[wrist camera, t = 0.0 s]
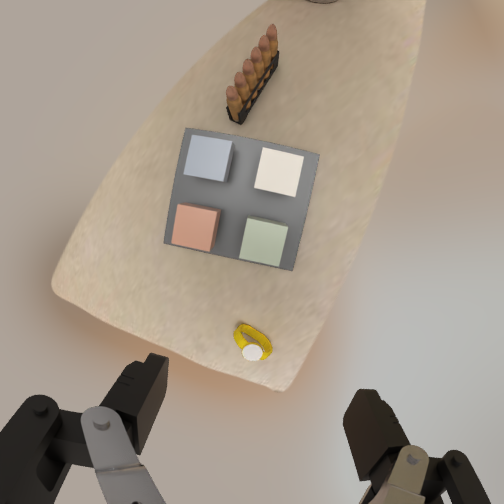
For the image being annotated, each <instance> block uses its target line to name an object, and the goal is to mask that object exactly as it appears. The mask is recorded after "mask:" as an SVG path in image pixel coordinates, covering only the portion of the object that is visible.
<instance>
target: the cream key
mask: <svg viewBox="0 0 504 504" xmlns="http://www.w3.org/2000/svg"><path fill="white" fill-rule="evenodd" d="M303 160H304V157H303V156H299V155H295V154H291V153H287V152H282V151H278V150H273V149H269V148H264V147H263V149H262V153H261V158H260V162H259V167H258V171H257V176H256V181H255V185H254V188H257V189H262V190H266V191H271V192H275V193H280V194H284V195H288V196H293V197H295V196H296V192H297V187H298V183H299V178H300V173H301V169H302V164H303Z"/></svg>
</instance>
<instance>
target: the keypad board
mask: <svg viewBox="0 0 504 504" xmlns="http://www.w3.org/2000/svg"><path fill="white" fill-rule="evenodd" d="M192 135H197V136H204V137H210V138H217V139H223V140H228V141H232V142H233V143H234V145H235V148H234V152H233V157H232V161H231V166H230V170H229V175H228V180H227V182H223V181H218V180H212V179H207V178H201V177H196V176H190V175H185V174H184V169H185V164H186V159H187V155H188V150H189V146H190V141H191V137H192ZM263 147H264V148H269V149H273V150H278V151H282V152H287V153H291V154H295V155H299V156H303V157H304V160H303V164H302V169H301V173H300V178H299V183H298V187H297V192H296V196H295V197H293V196H288V195H284V194H280V193H275V192H271V191H266V190H262V189H257V188H254V185H255V181H256V176H257V171H258V167H259V162H260V158H261V153H262V149H263ZM319 156H320V154H316V153H312V152H308V151H304V150H300V149H296V148H292V147H288V146H284V145H280V144H275V143H271V142H266V141H261V140H256V139H251V138H246V137H241V136H235V135H230V134H224V133H218V132H212V131H205V130H198V129H191V128H185V132H184V137H183V141H182V145H181V150H180V154H179V159H178V164H177V169H176V173H175V178H174V184H173V189H172V194H171V200H170V205H169V211H168V217H167V223H166V230H165V237H164V244H169V245H173V246H178V247H182V248H187V249H191V250H196V251H201V252H205V253H210V254H214V255H219V256H224V257H228V258H233V259H237V260H242V261H247V262H251V263H256V264H261V265H266V266H270V267H275V268H280V269H285V270H289V271H293V267H294V263H295V259H296V255H297V251H298V247H299V243H300V239H301V235H302V231H303V227H304V223H305V219H306V214H307V210H308V206H309V201H310V197H311V193H312V188H313V184H314V179H315V175H316V170H317V165H318V160H319ZM185 202H186V203H191V204H196V205H201V206H206V207H211V208H216V209H221V213H220V218H219V223H218V229H217V234H216V239H215V244H214V247H213V248H212V249H211V251H210V252H208V251H204V250H199V249H194V248H190V247H185V246H181V245H176V244H172V243H171V241H172V235H173V229H174V223H175V217H176V211H177V205H178V204H180V203H185ZM248 215H250V216H254V217H259V218H264V219H268V220H273V221H277V222H282V223H286V225H287V226H288V231H287V235H286V239H285V243H284V247H283V252H282V256H281V260H280V264H279V267H278V266H273V265H269V264H264V263H259V262H255V261H250V260H245V259H241V258H239V255H240V251H241V246H242V241H243V236H244V232H245V227H246V222H247V218H248Z"/></svg>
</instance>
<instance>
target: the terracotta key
mask: <svg viewBox="0 0 504 504" xmlns="http://www.w3.org/2000/svg"><path fill="white" fill-rule="evenodd" d="M220 213H221V209H216V208H211V207H206V206H201V205H196V204H191V203H186V202H185V203H180V204H178V205H177V211H176V217H175V223H174V229H173V235H172V241H171V243H172V244H176V245H181V246H185V247H190V248H194V249H199V250H204V251H208V252H210V251H211V249H212V248H213V247H214V244H215V239H216V234H217V229H218V223H219V218H220Z"/></svg>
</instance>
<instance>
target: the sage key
mask: <svg viewBox="0 0 504 504" xmlns="http://www.w3.org/2000/svg"><path fill="white" fill-rule="evenodd" d="M287 231H288V226H287V225H286V223H282V222H277V221H273V220H268V219H264V218H259V217H254V216H250V215H248V218H247V222H246V227H245V232H244V236H243V241H242V246H241V251H240V255H239V258H241V259H245V260H250V261H255V262H259V263H264V264H269V265H273V266H278V267H279V264H280V260H281V256H282V252H283V247H284V243H285V239H286V235H287Z"/></svg>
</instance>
